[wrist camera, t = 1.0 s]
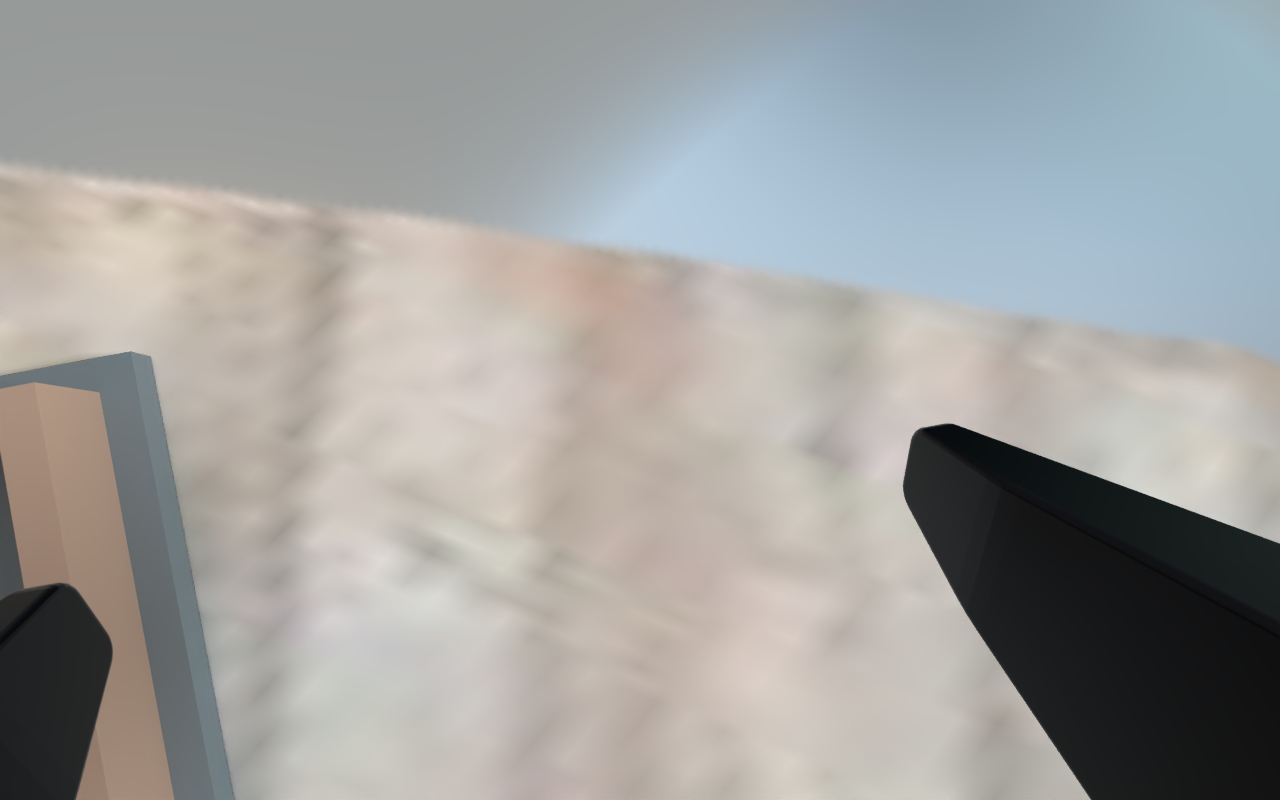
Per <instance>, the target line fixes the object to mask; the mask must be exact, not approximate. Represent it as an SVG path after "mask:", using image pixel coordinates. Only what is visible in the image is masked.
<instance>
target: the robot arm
mask: <svg viewBox="0 0 1280 800" xmlns="http://www.w3.org/2000/svg"><path fill="white" fill-rule="evenodd" d="M903 492H904V497H905V500H906V503H907V505H908V507H909V509H910V511H911V512H912V514H913V516H914V518H915V520H916V522H917V524H918V526H919V527H920V529H921V531H922V533H923V535H924V537H925V539H926V541H927V542H928V544H929V546H930V548H931V550H932V552H933V554H934V556H935V557H936V559H937V561H938V563H939V565H940V567H941V569H942V571H943V573H944V574H945V576H946V578H947V580H948V582H949V584H950V586H951V588H952V589H953V591H954V593H955V595H956V597H957V598H958V600H959V602H960V604H961V605H962V607H963V609H964V611H965V612H966V614H967V616H968V617H969V619H970V620H971V622H972V623H973V625H974V626H975V628H976V630H977V631H978V633H979V634H980V636H981V637H982V639H983V640H984V642H985V643H986V645H987V646H988V648H989V649H990V650H991V652H992V653H993V655H994V656H995V658H996V659H997V661H998V662H999V664H1000V665H1001V667H1002V668H1003V670H1004V671H1005V673H1006V674H1007V676H1008V677H1009V679H1010V680H1011V682H1012V683H1013V685H1014V686H1015V688H1016V689H1017V691H1018V692H1019V694H1020V695H1021V697H1022V698H1023V699H1024V701H1025V702H1026V704H1027V705H1028V707H1029V708H1030V710H1031V711H1032V713H1033V714H1034V716H1035V717H1036V719H1037V720H1038V722H1039V723H1040V725H1041V726H1042V728H1043V729H1044V731H1045V732H1046V734H1047V735H1048V737H1049V738H1050V740H1051V741H1052V743H1053V744H1054V746H1055V747H1056V748H1057V750H1058V751H1059V753H1060V754H1061V756H1062V757H1063V759H1064V760H1065V762H1066V763H1067V765H1068V766H1069V768H1070V769H1071V771H1072V772H1073V774H1074V775H1075V777H1076V778H1077V780H1078V781H1079V783H1080V784H1081V786H1082V787H1083V789H1084V790H1085V792H1086V793H1087V795H1088V796H1089V798H1090V799H1091V800H1280V544H1279V543H1277V542H1274V541H1271V540H1268V539H1266V538H1263V537H1260V536H1257V535H1255V534H1252V533H1249V532H1247V531H1244V530H1241V529H1238V528H1236V527H1233V526H1230V525H1227V524H1225V523H1222V522H1219V521H1217V520H1214V519H1211V518H1208V517H1206V516H1203V515H1200V514H1197V513H1195V512H1192V511H1189V510H1187V509H1184V508H1181V507H1178V506H1176V505H1173V504H1170V503H1167V502H1165V501H1162V500H1159V499H1157V498H1154V497H1151V496H1148V495H1146V494H1143V493H1140V492H1138V491H1135V490H1132V489H1129V488H1127V487H1124V486H1121V485H1118V484H1116V483H1113V482H1110V481H1108V480H1105V479H1102V478H1099V477H1097V476H1094V475H1091V474H1088V473H1086V472H1083V471H1080V470H1078V469H1075V468H1072V467H1069V466H1067V465H1064V464H1061V463H1059V462H1056V461H1053V460H1050V459H1048V458H1045V457H1042V456H1039V455H1037V454H1034V453H1031V452H1029V451H1026V450H1023V449H1020V448H1018V447H1015V446H1012V445H1009V444H1007V443H1004V442H1001V441H999V440H996V439H993V438H990V437H988V436H985V435H982V434H980V433H977V432H974V431H971V430H969V429H966V428H963V427H960V426H958V425H955V424H940V425H935V426H929V427H923V428H920V429H918V430H917V431H916V432H915V433H914V435H913V436H912V439H911V444H910V449H909V454H908V460H907V465H906V470H905V476H904V481H903ZM112 659H113V646H112V642H111V639H110V636H109V634H108V633H107V631H106V630H105V628H104V627H103V625H102V624H101V623H100V621H99V620H98V618H97V617H96V615H95V614H94V613H93V611H92V610H91V608H90V607H89V605H88V604H87V603H86V601H85V600H84V598H83V597H82V596H81V594H80V593H79V591H78V590H77V589H76V588H75V587H73V586H71V585H69V584H67V583H52V584H47V585H41V586H35V587H30V588H24V589H20V590H17V591H15V592H12V593H10V594H9V595H7V596H6V597H4V598H3V599H1V600H0V800H76V797H77V794H78V791H79V787H80V783H81V780H82V776H83V772H84V768H85V764H86V760H87V756H88V753H89V749H90V745H91V741H92V737H93V733H94V730H95V726H96V722H97V718H98V714H99V710H100V707H101V703H102V699H103V695H104V691H105V687H106V683H107V680H108V676H109V672H110V668H111V664H112Z"/></svg>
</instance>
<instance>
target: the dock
mask: <svg viewBox="0 0 1280 800" xmlns="http://www.w3.org/2000/svg"><path fill="white" fill-rule="evenodd" d="M52 583H67V584H69V585H71V586H73V587H75V588H76V589H77V590H78V591H79V593H80V594H81V596H82V597H83V598H84V600H85V601H86V603H87V604H88V605H89V607H90V608H91V610H92V611H93V613H94V614H95V615H96V617H97V618H98V620H99V621H100V623H101V624H102V625H103V627H104V628H105V630H106V631H107V633H108V634H109V636H110V639H111V642H112V646H113V659H112V664H111V668H110V672H109V676H108V680H107V683H106V687H105V691H104V695H103V699H102V703H101V707H100V710H99V714H98V718H97V722H96V726H95V730H94V733H93V737H92V741H91V745H90V749H89V753H88V756H87V760H86V764H85V768H84V772H83V776H82V780H81V783H80V787H79V791H78V794H77V797H76V800H234V795H233V789H232V784H231V779H230V773H229V768H228V763H227V758H226V752H225V747H224V742H223V736H222V731H221V726H220V721H219V715H218V710H217V705H216V699H215V694H214V689H213V684H212V678H211V673H210V668H209V662H208V657H207V652H206V647H205V641H204V636H203V631H202V625H201V620H200V615H199V610H198V604H197V599H196V594H195V588H194V583H193V578H192V573H191V567H190V562H189V557H188V551H187V546H186V541H185V536H184V530H183V525H182V520H181V514H180V509H179V504H178V499H177V493H176V488H175V483H174V477H173V472H172V467H171V462H170V456H169V451H168V446H167V440H166V435H165V430H164V425H163V419H162V414H161V409H160V404H159V398H158V393H157V388H156V382H155V377H154V372H153V367H152V361H151V357H150V356H146V355H142V354H138V353H135V352H131V351H130V352H125V353H120V354H114V355H109V356H104V357H98V358H93V359H88V360H83V361H77V362H72V363H67V364H61V365H56V366H51V367H45V368H40V369H35V370H29V371H24V372H19V373H13V374H8V375H3V376H0V600H1V599H3V598H4V597H6V596H7V595H9V594H10V593H12V592H15V591H17V590H20V589H24V588H30V587H35V586H41V585H47V584H52Z"/></svg>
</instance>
